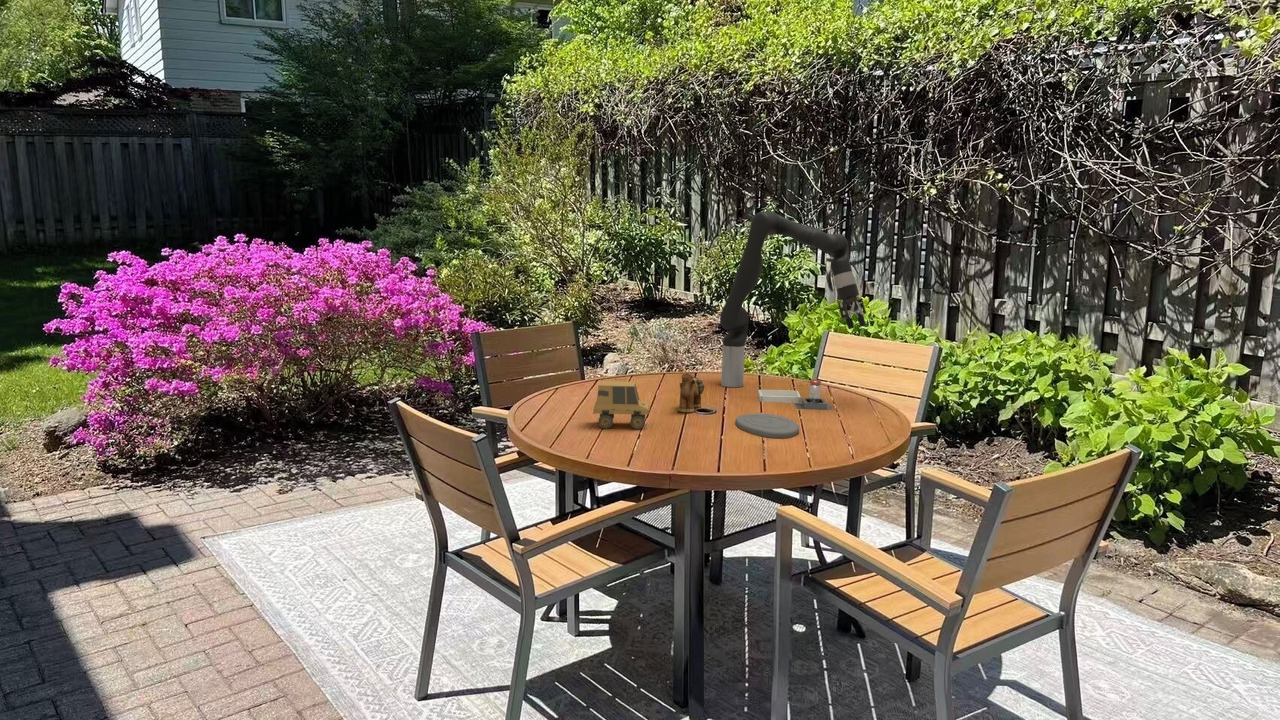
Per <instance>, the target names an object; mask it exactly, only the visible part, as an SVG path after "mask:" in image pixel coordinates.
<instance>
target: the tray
mask: <svg viewBox="0 0 1280 720" xmlns="http://www.w3.org/2000/svg"><path fill="white" fill-rule="evenodd" d="M757 398H758V400H759V403H783V404H785V403H789V404H792V403H793V404H794V403H801V401H802V396H801V395H800V392H799V391H798V390H790V389H789V390H787V389H785V390H784V389H779V390H778V389H758V390H757Z"/></svg>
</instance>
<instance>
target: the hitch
mask: <svg viewBox="0 0 1280 720" xmlns="http://www.w3.org/2000/svg"><path fill="white" fill-rule="evenodd" d="M793 404H794V406H795V409H797V410H818V411H819V410H823V411H825V410H826V411H835V408H834V407H833V405H832V404H831V403H827V401H826V400H825V399H824V398H820V403H809V397H801V403H793Z"/></svg>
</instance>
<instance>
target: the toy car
mask: <svg viewBox="0 0 1280 720" xmlns="http://www.w3.org/2000/svg"><path fill="white" fill-rule="evenodd" d="M593 414H599V418H598V425H599V427H600V428H602V429H603V430H604V429H605V430H606V429H610V428H611V427H612V426H613V423H614V418H615V415H630V417H631V419H630V426H631V428H632V429H634V430H642V429H643V428H644V427H645V425H646V424H645V423H646V421H645V420H646V416H647V415H648V416H649V415H650V403H649V402H647V401H643V400H640V396H639V392H638V389H637V383H636V381H618V380H617V381H616V380H615V381H613V380H612V381H611V380H610V381H609V380H607V381H606V380H600V381H599V383H598V387H597V395H596V401H595V403H594V406H593Z"/></svg>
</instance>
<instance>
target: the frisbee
mask: <svg viewBox="0 0 1280 720" xmlns="http://www.w3.org/2000/svg"><path fill="white" fill-rule="evenodd" d="M735 424H736V427H737V428H739V429H740V430H742V431H744V432H746V433H749V434H752V435H756V436H759V437H761V438H762V437H763V438H767V439H768V438H769V439H788V438H793V437H796V436H797V435H798V434H799V432H800V426H799V425H798V423H797V422H795V421H794V420H793V419H790V418H789V417H785V416H782V415H778V414H772V413H760V412H759V413H756V412H755V413H746V414H741V415H738V416H736V418H735Z"/></svg>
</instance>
